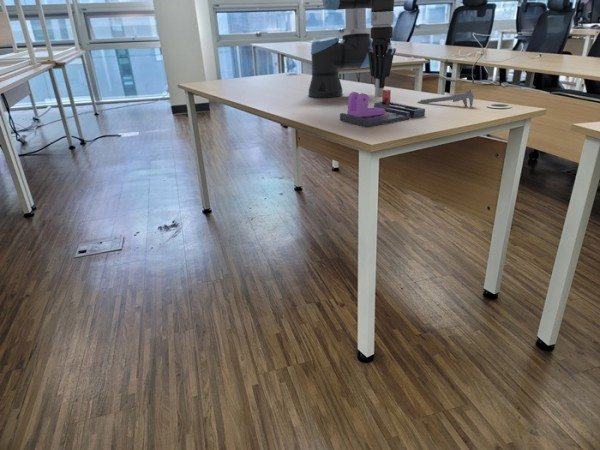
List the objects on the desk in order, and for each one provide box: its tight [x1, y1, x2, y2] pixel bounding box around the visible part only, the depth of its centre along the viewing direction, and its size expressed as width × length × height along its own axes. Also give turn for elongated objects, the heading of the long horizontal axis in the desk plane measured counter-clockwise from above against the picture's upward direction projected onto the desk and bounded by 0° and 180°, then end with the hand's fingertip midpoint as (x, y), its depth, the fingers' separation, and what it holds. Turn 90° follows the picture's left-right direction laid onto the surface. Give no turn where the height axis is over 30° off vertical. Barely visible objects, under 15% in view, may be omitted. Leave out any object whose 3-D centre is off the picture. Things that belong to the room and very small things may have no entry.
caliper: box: [416, 88, 474, 108], centre depth 157 cm, size 20×1×6 cm, turn 55°
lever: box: [381, 89, 405, 108], centre depth 149 cm, size 10×3×6 cm, turn 31°
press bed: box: [339, 106, 410, 128], centre depth 140 cm, size 14×18×2 cm
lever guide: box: [373, 101, 426, 119], centre depth 148 cm, size 20×5×2 cm, turn 31°
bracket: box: [346, 91, 385, 117], centre depth 139 cm, size 13×6×7 cm, turn 124°
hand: (379, 96), depth 155 cm, fingers closed
